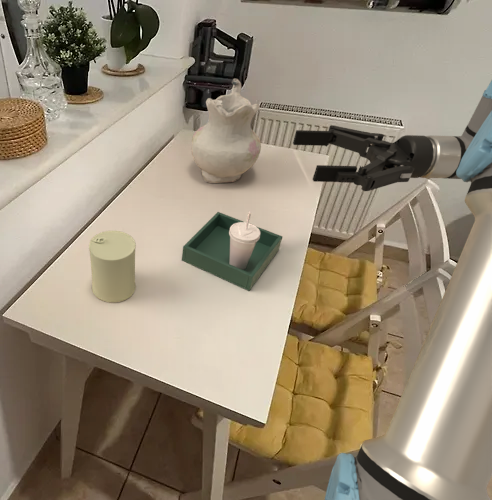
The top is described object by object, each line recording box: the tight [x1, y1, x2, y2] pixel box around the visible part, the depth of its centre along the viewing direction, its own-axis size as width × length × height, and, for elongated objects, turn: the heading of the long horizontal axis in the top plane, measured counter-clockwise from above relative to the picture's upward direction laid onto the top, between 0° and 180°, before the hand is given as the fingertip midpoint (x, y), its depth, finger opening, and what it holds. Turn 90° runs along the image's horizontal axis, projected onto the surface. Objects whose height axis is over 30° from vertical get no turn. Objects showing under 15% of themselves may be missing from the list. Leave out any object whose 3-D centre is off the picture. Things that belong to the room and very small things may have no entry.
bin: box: [181, 211, 283, 292], centre depth 98 cm, size 17×17×4 cm
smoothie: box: [229, 211, 260, 270], centre depth 91 cm, size 6×6×14 cm
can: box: [88, 230, 137, 303], centre depth 87 cm, size 9×9×12 cm
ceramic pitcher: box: [190, 77, 262, 184], centre depth 120 cm, size 22×20×25 cm
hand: (304, 154), depth 78 cm, fingers open, 13 cm apart
